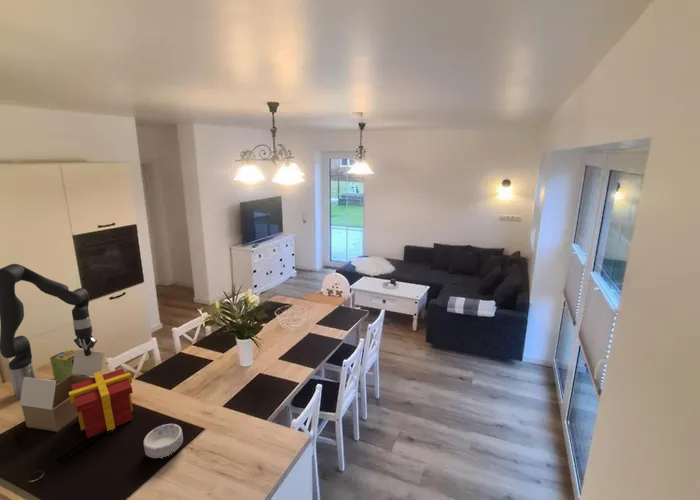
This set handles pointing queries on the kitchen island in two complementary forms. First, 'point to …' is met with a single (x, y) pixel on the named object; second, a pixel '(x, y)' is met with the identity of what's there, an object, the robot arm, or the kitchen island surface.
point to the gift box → (103, 401)
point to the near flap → (37, 393)
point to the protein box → (63, 365)
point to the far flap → (87, 362)
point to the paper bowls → (163, 441)
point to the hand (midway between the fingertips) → (87, 355)
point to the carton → (55, 408)
